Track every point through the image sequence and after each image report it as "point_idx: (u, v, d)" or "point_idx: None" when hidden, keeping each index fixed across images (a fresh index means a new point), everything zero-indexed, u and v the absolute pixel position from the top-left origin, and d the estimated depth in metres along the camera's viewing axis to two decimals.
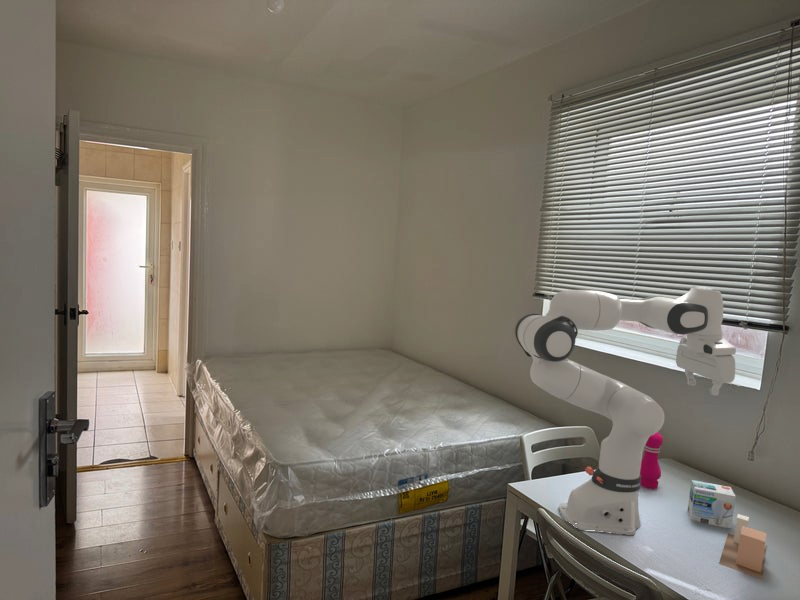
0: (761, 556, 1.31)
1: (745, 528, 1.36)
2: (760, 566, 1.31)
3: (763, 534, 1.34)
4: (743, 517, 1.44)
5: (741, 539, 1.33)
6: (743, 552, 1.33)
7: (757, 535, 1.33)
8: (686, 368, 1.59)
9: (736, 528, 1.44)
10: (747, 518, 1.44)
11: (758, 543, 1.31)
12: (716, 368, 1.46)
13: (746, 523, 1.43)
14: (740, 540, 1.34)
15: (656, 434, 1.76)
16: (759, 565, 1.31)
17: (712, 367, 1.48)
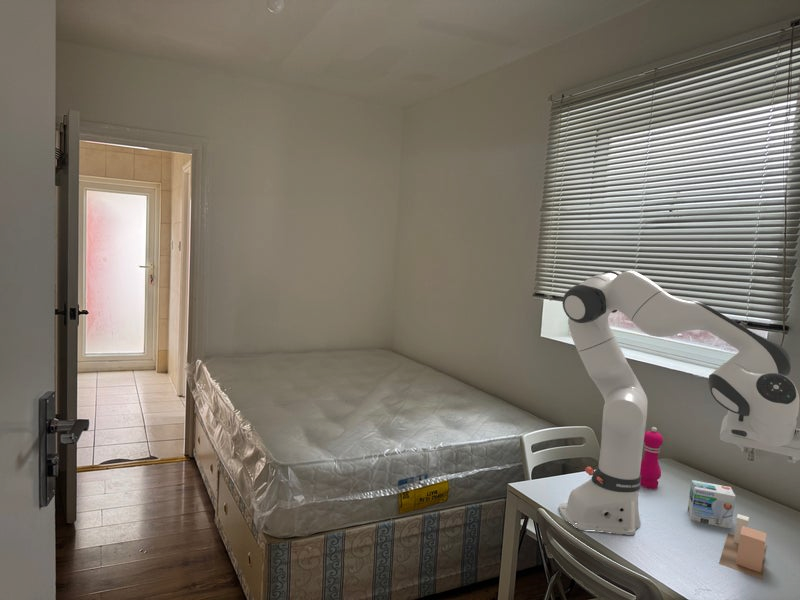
0: (761, 556, 1.31)
1: (745, 528, 1.36)
2: (760, 566, 1.31)
3: (763, 534, 1.34)
4: (743, 517, 1.44)
5: (741, 539, 1.33)
6: (743, 552, 1.33)
7: (757, 535, 1.33)
8: None
9: (736, 528, 1.44)
10: (747, 518, 1.44)
11: (758, 543, 1.31)
12: None
13: (746, 523, 1.43)
14: (740, 540, 1.34)
15: (656, 434, 1.76)
16: (759, 565, 1.31)
17: None
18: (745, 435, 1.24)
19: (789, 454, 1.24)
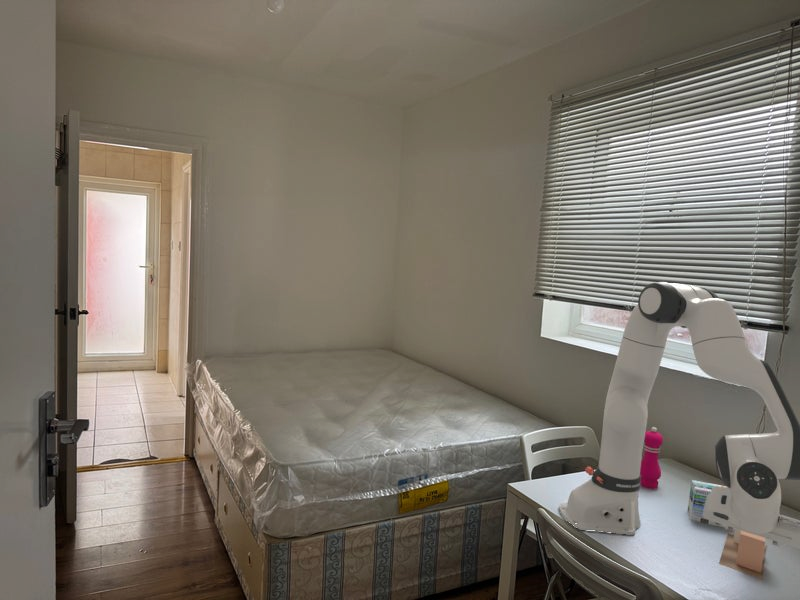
0: (761, 556, 1.31)
1: None
2: (760, 566, 1.31)
3: None
4: None
5: (741, 539, 1.33)
6: (743, 552, 1.33)
7: (757, 535, 1.33)
8: None
9: None
10: None
11: (758, 543, 1.31)
12: None
13: None
14: (740, 540, 1.34)
15: (656, 434, 1.76)
16: (759, 565, 1.31)
17: None
18: (727, 519, 1.20)
19: (773, 539, 1.20)
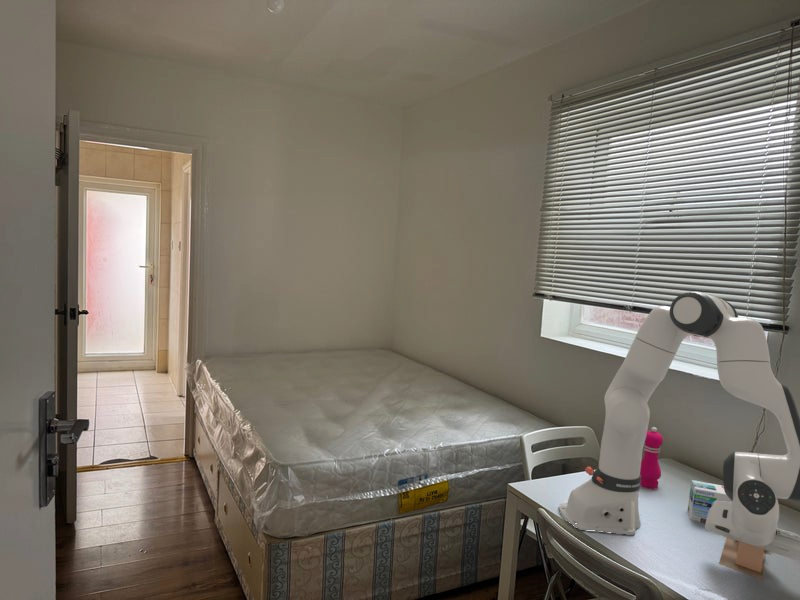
0: (761, 556, 1.31)
1: None
2: (760, 566, 1.31)
3: None
4: None
5: None
6: (743, 552, 1.33)
7: None
8: None
9: None
10: None
11: None
12: None
13: None
14: None
15: (656, 434, 1.76)
16: (759, 565, 1.31)
17: None
18: (728, 532, 1.28)
19: (771, 551, 1.28)
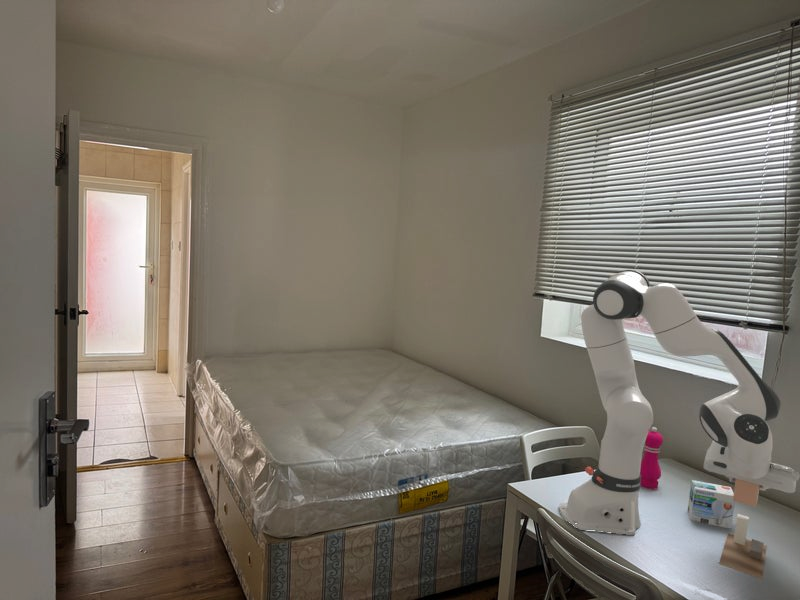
0: (756, 491, 1.40)
1: None
2: (755, 501, 1.40)
3: None
4: (743, 517, 1.44)
5: None
6: (739, 489, 1.42)
7: None
8: None
9: (736, 528, 1.44)
10: (747, 518, 1.44)
11: None
12: None
13: (746, 523, 1.43)
14: None
15: (656, 434, 1.76)
16: (754, 500, 1.40)
17: None
18: (725, 467, 1.36)
19: (765, 485, 1.37)
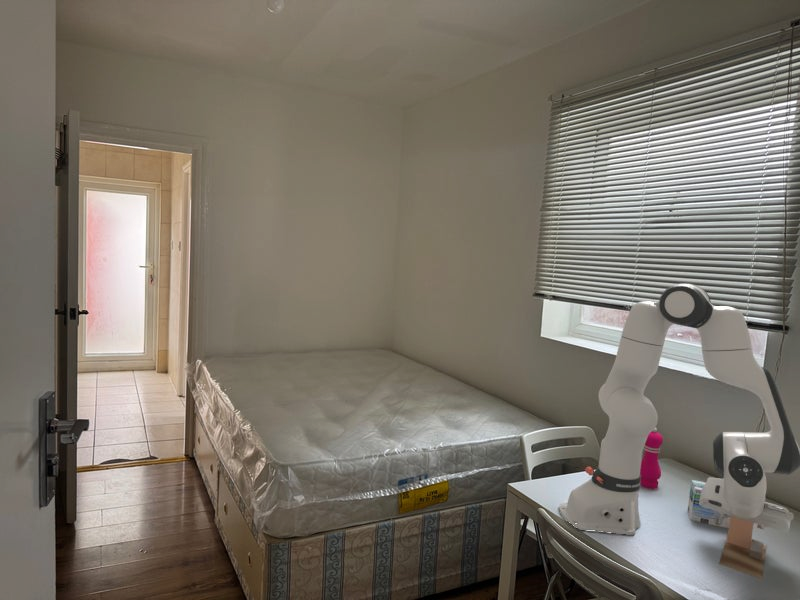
0: (750, 534, 1.41)
1: None
2: (749, 543, 1.41)
3: None
4: None
5: (732, 519, 1.44)
6: (734, 531, 1.43)
7: None
8: None
9: None
10: None
11: (747, 522, 1.41)
12: None
13: None
14: (731, 520, 1.44)
15: (656, 434, 1.76)
16: (748, 543, 1.42)
17: None
18: (720, 506, 1.38)
19: (760, 523, 1.38)
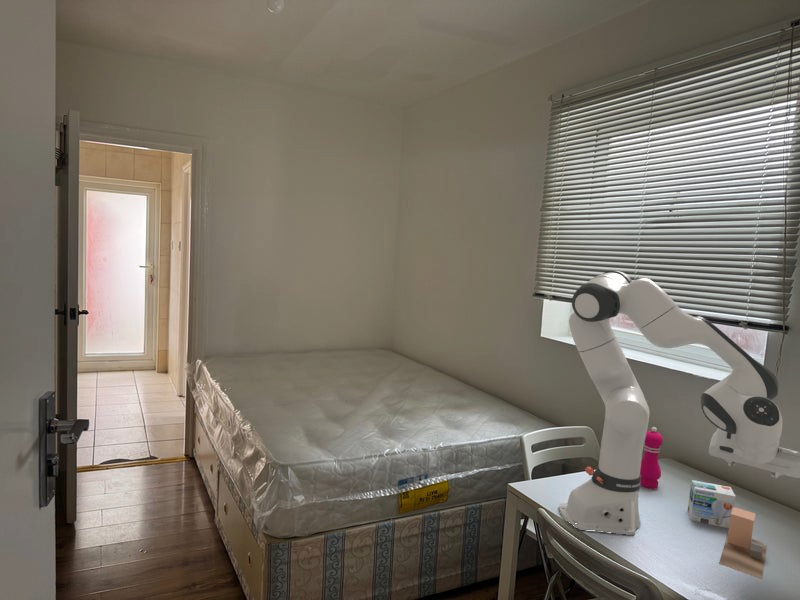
0: (750, 534, 1.41)
1: (736, 509, 1.47)
2: (749, 543, 1.41)
3: (753, 514, 1.44)
4: None
5: (732, 519, 1.44)
6: (734, 531, 1.43)
7: (747, 515, 1.43)
8: None
9: None
10: None
11: (747, 522, 1.41)
12: None
13: None
14: (731, 520, 1.44)
15: (656, 434, 1.76)
16: (748, 543, 1.42)
17: None
18: (732, 451, 1.33)
19: (772, 470, 1.34)
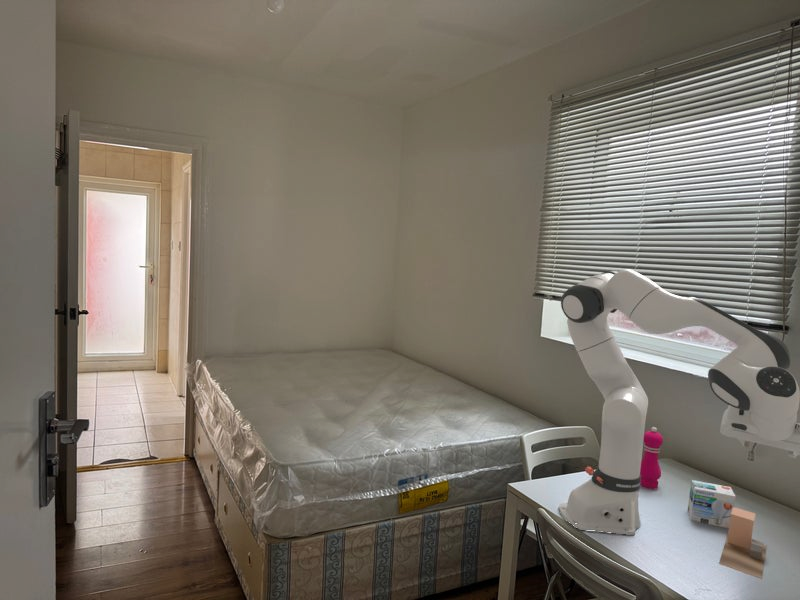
0: (750, 534, 1.41)
1: (736, 509, 1.47)
2: (749, 543, 1.41)
3: (753, 514, 1.44)
4: None
5: (732, 519, 1.44)
6: (734, 531, 1.43)
7: (747, 515, 1.43)
8: None
9: None
10: None
11: (747, 522, 1.41)
12: None
13: None
14: (731, 520, 1.44)
15: (656, 434, 1.76)
16: (748, 543, 1.42)
17: None
18: (745, 429, 1.23)
19: (789, 449, 1.23)
